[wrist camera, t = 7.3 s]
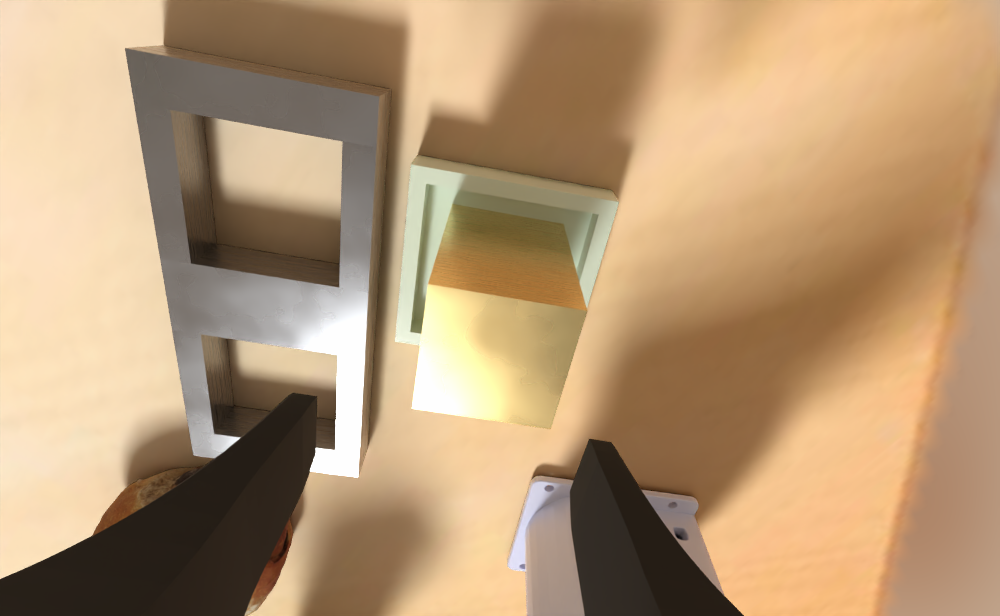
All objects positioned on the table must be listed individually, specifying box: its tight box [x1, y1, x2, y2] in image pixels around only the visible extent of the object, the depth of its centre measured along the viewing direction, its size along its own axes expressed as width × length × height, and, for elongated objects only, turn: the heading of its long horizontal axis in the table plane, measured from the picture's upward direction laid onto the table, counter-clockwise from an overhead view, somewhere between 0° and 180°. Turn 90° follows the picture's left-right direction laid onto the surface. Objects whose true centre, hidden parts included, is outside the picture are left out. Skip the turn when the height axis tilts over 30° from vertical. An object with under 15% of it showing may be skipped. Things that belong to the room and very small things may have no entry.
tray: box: [395, 155, 619, 345], centre depth 21 cm, size 8×8×2 cm
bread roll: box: [92, 466, 293, 616], centre depth 28 cm, size 10×10×8 cm
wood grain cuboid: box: [412, 204, 587, 429], centre depth 18 cm, size 4×4×7 cm
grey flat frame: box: [125, 45, 392, 478], centre depth 22 cm, size 8×18×2 cm, turn 170°
